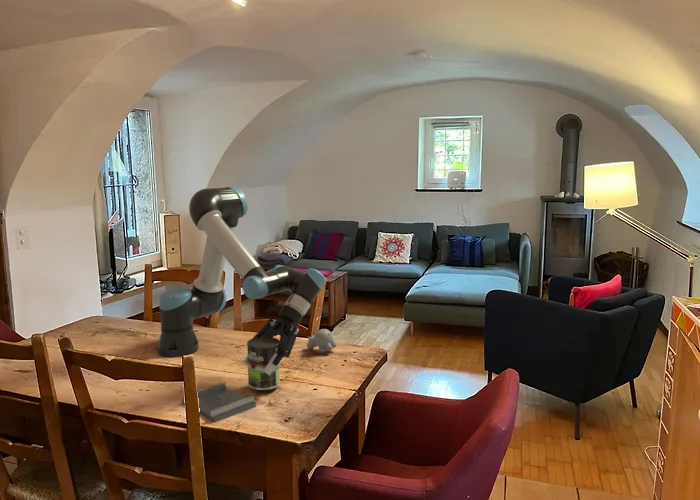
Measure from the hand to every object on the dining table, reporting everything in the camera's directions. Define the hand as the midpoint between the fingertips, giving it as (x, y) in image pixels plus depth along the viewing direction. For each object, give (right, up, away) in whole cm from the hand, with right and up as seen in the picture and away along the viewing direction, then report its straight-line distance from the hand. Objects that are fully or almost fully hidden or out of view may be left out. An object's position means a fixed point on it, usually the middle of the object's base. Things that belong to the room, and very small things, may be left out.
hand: (256, 368), depth 176 cm
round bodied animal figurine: (+18, -1, +37) cm, 42 cm away
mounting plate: (-10, -9, -9) cm, 16 cm away
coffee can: (+2, -6, +3) cm, 7 cm away
